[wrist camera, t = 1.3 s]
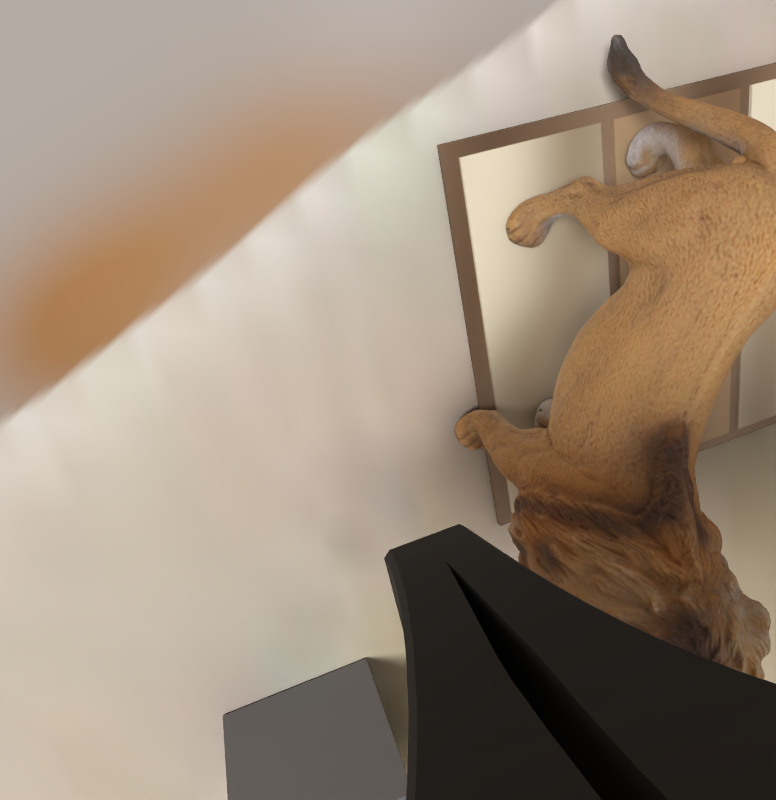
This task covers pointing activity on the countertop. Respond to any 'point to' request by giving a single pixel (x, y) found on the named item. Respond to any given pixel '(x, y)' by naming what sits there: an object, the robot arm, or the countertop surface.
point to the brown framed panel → (573, 257)
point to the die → (315, 743)
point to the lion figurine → (649, 378)
